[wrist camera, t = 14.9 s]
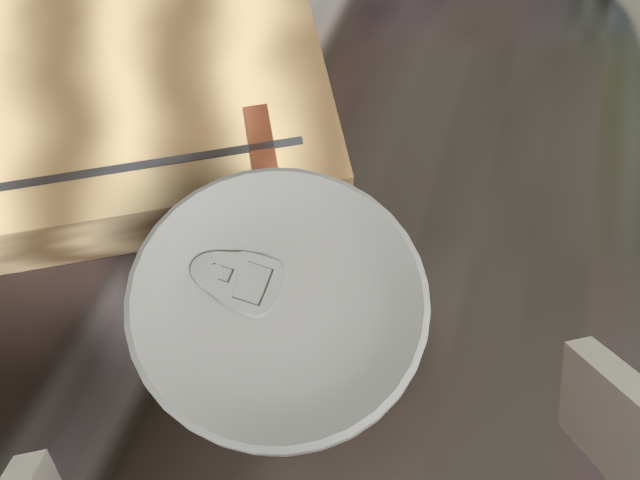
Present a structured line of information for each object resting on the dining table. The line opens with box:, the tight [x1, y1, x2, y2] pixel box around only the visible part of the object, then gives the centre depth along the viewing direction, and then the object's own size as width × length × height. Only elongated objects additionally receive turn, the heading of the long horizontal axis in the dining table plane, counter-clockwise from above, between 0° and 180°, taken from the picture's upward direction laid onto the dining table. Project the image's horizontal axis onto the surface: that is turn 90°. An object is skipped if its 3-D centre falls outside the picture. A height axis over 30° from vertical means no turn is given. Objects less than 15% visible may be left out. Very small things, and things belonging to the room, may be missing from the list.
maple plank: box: [0, 0, 354, 275], centre depth 26 cm, size 28×20×4 cm
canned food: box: [124, 168, 431, 457], centre depth 16 cm, size 8×8×11 cm
